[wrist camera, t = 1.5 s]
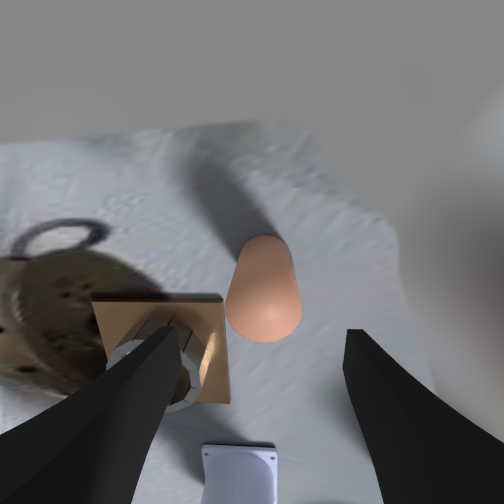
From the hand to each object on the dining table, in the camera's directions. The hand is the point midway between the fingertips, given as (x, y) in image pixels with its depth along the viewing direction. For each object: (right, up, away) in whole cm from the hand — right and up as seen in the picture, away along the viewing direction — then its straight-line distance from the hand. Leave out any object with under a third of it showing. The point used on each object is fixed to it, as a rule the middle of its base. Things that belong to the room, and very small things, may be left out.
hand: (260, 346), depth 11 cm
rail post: (+1, +3, +9) cm, 10 cm away
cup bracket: (-8, -5, +13) cm, 16 cm away
